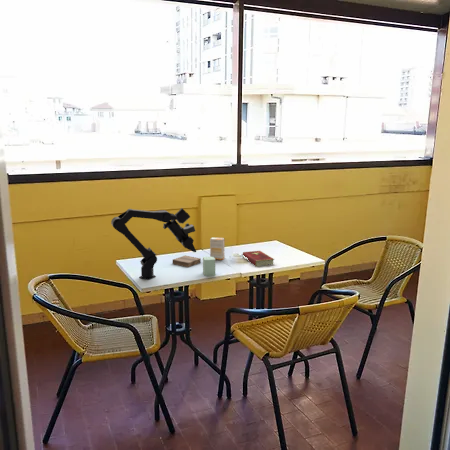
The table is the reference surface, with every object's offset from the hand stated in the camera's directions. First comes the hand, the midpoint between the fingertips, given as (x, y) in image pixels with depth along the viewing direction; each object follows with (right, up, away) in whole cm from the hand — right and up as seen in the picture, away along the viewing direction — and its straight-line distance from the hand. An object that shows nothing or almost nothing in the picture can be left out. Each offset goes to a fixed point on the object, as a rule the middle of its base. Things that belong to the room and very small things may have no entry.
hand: (193, 249), depth 254 cm
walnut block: (-6, -10, +22) cm, 25 cm away
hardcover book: (+38, -9, +28) cm, 48 cm away
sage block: (+9, -13, +1) cm, 16 cm away
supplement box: (+13, -7, +32) cm, 35 cm away
